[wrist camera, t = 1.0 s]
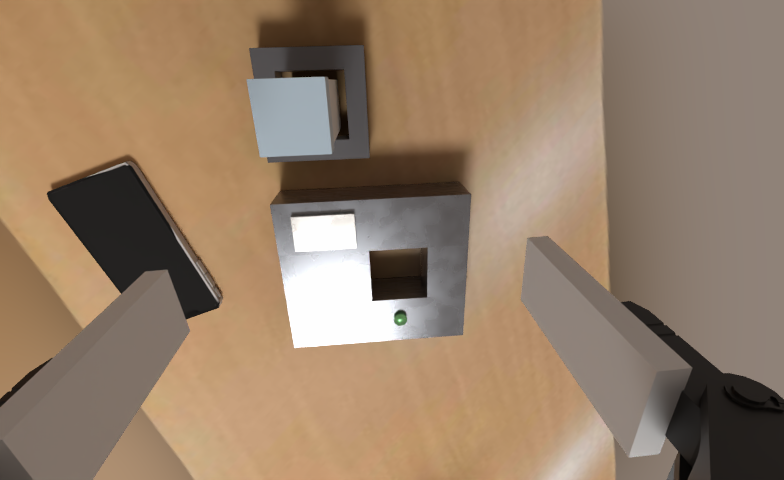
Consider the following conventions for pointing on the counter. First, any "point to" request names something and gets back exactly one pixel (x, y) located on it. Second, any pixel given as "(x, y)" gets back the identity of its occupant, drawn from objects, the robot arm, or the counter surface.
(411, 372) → the counter surface
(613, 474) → the counter surface
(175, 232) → the smartphone
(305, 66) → the grey square ring
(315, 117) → the plug
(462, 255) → the panel
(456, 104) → the counter surface
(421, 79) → the counter surface
